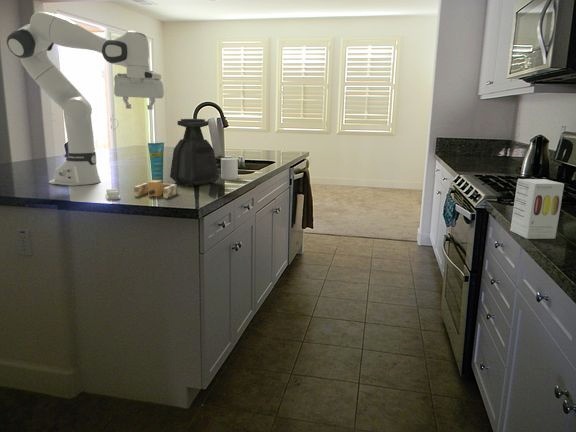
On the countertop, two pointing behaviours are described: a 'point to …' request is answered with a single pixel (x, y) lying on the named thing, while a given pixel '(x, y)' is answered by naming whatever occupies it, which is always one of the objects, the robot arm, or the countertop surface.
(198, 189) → the countertop surface
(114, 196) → the guide clip
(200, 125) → the dark grey vase
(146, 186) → the end holder
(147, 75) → the robot arm
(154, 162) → the tube
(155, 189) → the connector
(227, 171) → the cup
